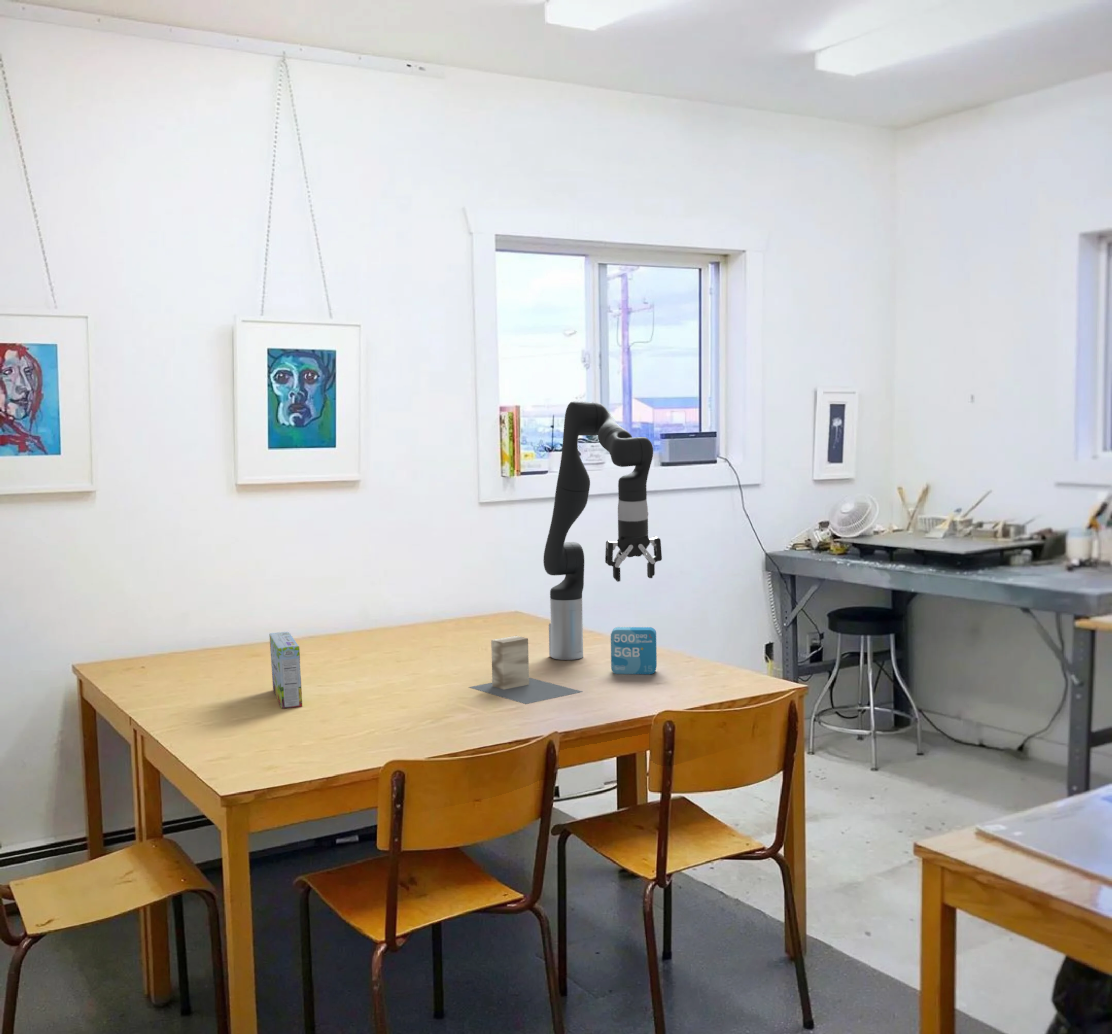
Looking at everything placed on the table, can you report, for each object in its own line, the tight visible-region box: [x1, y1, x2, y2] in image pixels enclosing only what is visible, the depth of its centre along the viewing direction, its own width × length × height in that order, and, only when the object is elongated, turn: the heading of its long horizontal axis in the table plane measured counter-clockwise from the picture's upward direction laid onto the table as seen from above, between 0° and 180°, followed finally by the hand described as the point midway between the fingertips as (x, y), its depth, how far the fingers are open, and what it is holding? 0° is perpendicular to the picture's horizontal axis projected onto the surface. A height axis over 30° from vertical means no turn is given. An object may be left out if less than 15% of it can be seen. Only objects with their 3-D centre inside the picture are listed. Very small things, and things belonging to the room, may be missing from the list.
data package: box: [610, 626, 658, 675], centre depth 291 cm, size 12×4×12 cm, turn 83°
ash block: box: [490, 635, 530, 690], centre depth 278 cm, size 5×8×12 cm, turn 129°
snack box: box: [269, 631, 303, 710], centre depth 270 cm, size 21×6×15 cm, turn 21°
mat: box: [468, 677, 584, 705], centre depth 273 cm, size 24×18×1 cm
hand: (633, 579), depth 275 cm, fingers open, 8 cm apart
